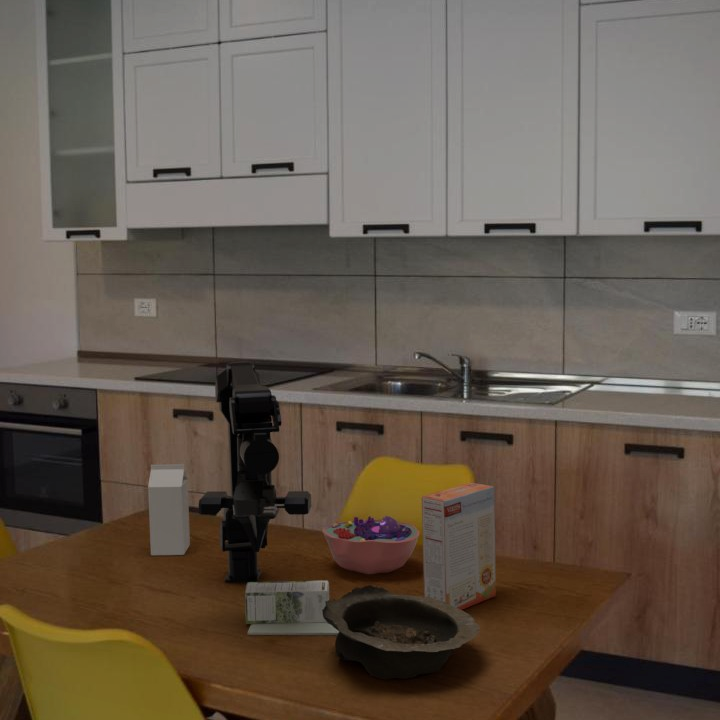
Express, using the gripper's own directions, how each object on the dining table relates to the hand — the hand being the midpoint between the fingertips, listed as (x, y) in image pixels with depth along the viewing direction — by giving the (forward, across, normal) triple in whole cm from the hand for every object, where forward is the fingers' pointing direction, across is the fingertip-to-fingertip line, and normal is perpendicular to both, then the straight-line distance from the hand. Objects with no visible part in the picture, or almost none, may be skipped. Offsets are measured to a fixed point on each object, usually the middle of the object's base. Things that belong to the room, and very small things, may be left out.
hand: (257, 551), depth 179 cm
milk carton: (+13, -26, +42) cm, 51 cm away
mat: (+12, +7, 0) cm, 14 cm away
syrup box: (+9, -2, 0) cm, 10 cm away
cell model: (+13, +18, +29) cm, 37 cm away
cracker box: (+13, +35, +10) cm, 39 cm away
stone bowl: (+13, +25, -16) cm, 32 cm away
